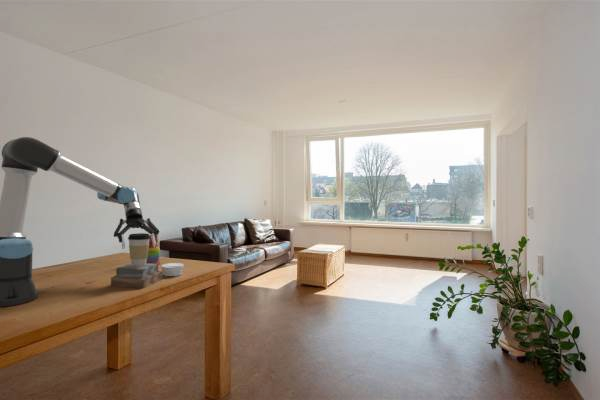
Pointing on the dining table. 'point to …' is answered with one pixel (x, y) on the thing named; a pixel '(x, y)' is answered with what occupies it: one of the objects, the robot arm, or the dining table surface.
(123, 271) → the grey stacked platform
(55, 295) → the dining table surface
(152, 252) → the stacking bear
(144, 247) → the coffee cup
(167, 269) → the ramekin
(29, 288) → the robot arm
